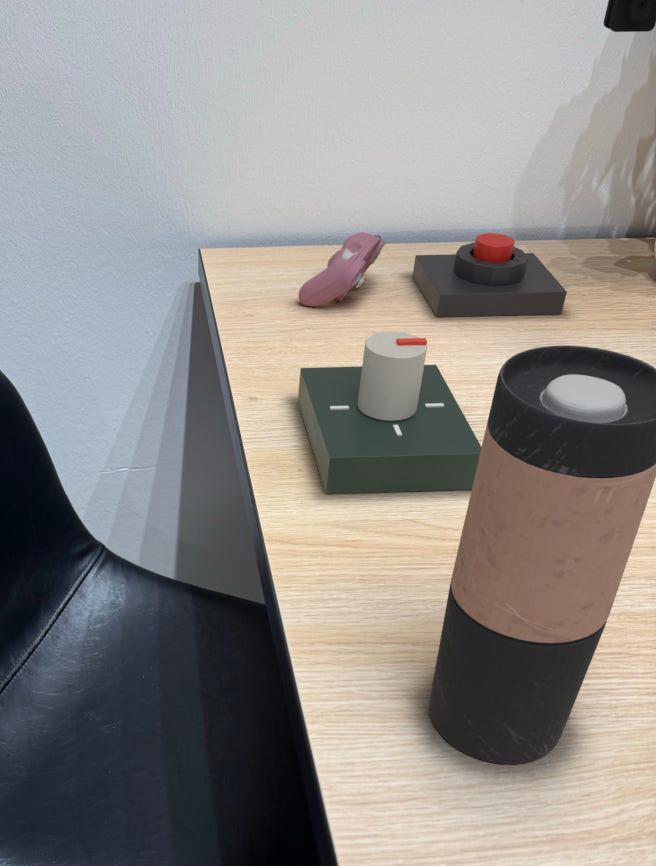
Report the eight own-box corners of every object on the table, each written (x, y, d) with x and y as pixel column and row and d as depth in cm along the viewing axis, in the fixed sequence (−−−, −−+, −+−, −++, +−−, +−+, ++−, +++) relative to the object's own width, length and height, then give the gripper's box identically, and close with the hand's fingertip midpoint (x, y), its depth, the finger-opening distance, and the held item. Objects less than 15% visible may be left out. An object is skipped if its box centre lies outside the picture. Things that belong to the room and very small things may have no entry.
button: (504, 250, 101) (508, 232, 100) (515, 264, 98) (519, 246, 97) (468, 251, 101) (471, 233, 100) (478, 265, 98) (481, 246, 97)
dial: (363, 422, 76) (372, 354, 73) (352, 394, 79) (360, 327, 76) (422, 420, 76) (434, 352, 73) (409, 392, 80) (420, 326, 76)
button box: (528, 274, 106) (537, 234, 103) (561, 314, 98) (572, 272, 96) (412, 276, 105) (418, 236, 103) (436, 317, 98) (443, 275, 95)
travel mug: (395, 717, 57) (461, 382, 44) (472, 652, 61) (553, 328, 48) (519, 792, 53) (631, 446, 40) (592, 717, 57) (716, 382, 44)
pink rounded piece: (330, 328, 99) (369, 269, 94) (291, 300, 99) (329, 239, 94) (362, 292, 106) (400, 234, 101) (326, 265, 106) (363, 207, 101)
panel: (297, 401, 85) (300, 365, 83) (430, 398, 85) (436, 362, 83) (325, 494, 74) (330, 455, 72) (477, 489, 75) (485, 451, 73)
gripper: (836, -318, 58) (724, 51, 70) (716, -306, 70) (637, 10, 82) (706, -318, 58) (615, 52, 70) (607, -306, 69) (543, 10, 81)
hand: (627, 28), depth 76 cm, fingers closed
